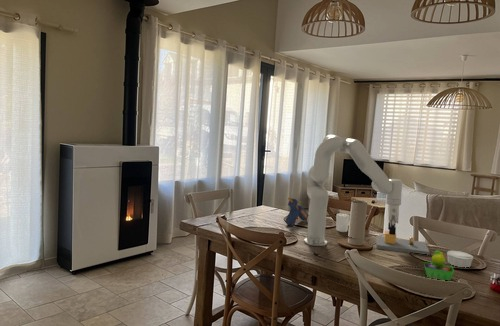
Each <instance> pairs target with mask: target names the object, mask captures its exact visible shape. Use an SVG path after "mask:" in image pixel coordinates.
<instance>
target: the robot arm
mask: <svg viewBox="0 0 500 326" xmlns="http://www.w3.org/2000/svg"><path fill="white" fill-rule="evenodd" d="M335 152H338V153H343V154H344V153H345V154H349V155H350V157H351V159H352V160H353V161H354V163H355V165H356V166H357V167H358V169H360V171H361V172H362V173H364V174H365V175H366V176H367V177H369V179H370V180H371V181H372V182H371V187H372V189H373V190H374V191H376V192H378V193H379V194H382V195H386V199H385V200H386V201H385V202H386V203H385V204H386V205H388V206H387V207H388V208H387V209H388V210H387V220H388V221H387V222H388V224H387V225H388V227H387V228H388V229H387V230H388V231H389V234H391V235H395V233H396V231H397V226H396V224H399V218H400V217H399V213H400V207H399V206H402V194H403V193H402V191H403V181H402V180H401V179H397V178H389V177H388V176H387V174H386V173H385V172H384V170H383V169H382V168H381V167H380V166H379V165H378V164H377V162H376V161H374V159H373V157H372V156H371V155H370V153H369V152H368V150H367V149H366V148H365V146H364V145H363V143H362V142H361V141H360V140H358V139H356V138H350V137H349V138H348V137H343V136H339V135H336V134H328V135H326V136H324V138H323V140H322V142H321V143H320V144H319V145H318V147H317V148H316V151H315V153H314V160H313V165H312V166H311V167H310V168H309V170H308V175H307V184H306V193H307V197H308V198H309V205H308V215H309V216H308V218H307V236H306V237H305V238H304V239H303V242H304V243H305V244H307V245H309V246H313V247H314V246H315V247H322V246H323V247H324V246H326V245H328V241H327V239H325V237H326V223H327V209H328V204H329V203H328V202H329V193H328V190H327V189H326V187H325V183H327V181H328V180H329V178H330V177H329V176H330V168H331V160H332V156H333V155H334V153H335ZM396 234H397V233H396Z"/></svg>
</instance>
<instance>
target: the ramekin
mask: <svg viewBox="0 0 500 326" xmlns="http://www.w3.org/2000/svg"><path fill="white" fill-rule="evenodd" d="M446 255H447V263H448V264H449V263H450V264H451V265H450V264H449V265H450V266H452V265H454V266H453V267H455V266H458V267H457V268H459V267H465V268H464V269H467V268H466V267H469V268H470V267H471V266H472V264H473V263H472V262H473V260H474V256H473V255H472V254H469V253H467V252H464V251H459V250H449V251H446Z"/></svg>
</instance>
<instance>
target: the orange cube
mask: <svg viewBox="0 0 500 326" xmlns="http://www.w3.org/2000/svg"><path fill="white" fill-rule="evenodd" d="M383 237H384V242H385V243H392V244H396V238H397V233H395V235H391V234H389V230H388V231H386V230H385V231H384V236H383Z"/></svg>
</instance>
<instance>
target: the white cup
mask: <svg viewBox="0 0 500 326" xmlns="http://www.w3.org/2000/svg"><path fill="white" fill-rule="evenodd" d="M335 219H336V221H335V222H336V223H335V224H336V225H335V227H336V228H335V230H336V231H337V232H340V233H347V232H348V229H349V224H350V214H347V213H336V218H335Z"/></svg>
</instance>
